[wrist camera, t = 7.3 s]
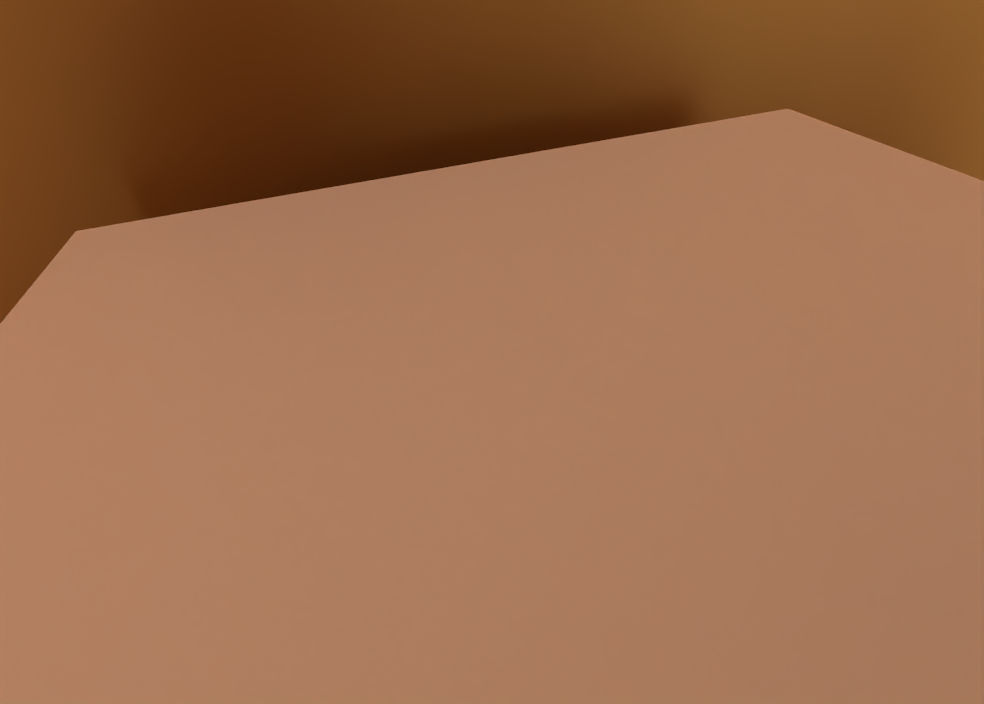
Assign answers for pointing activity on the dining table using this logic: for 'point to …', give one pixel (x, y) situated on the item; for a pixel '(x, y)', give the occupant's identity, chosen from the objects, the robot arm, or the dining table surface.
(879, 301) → the pale pink cube
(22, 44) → the dining table surface
